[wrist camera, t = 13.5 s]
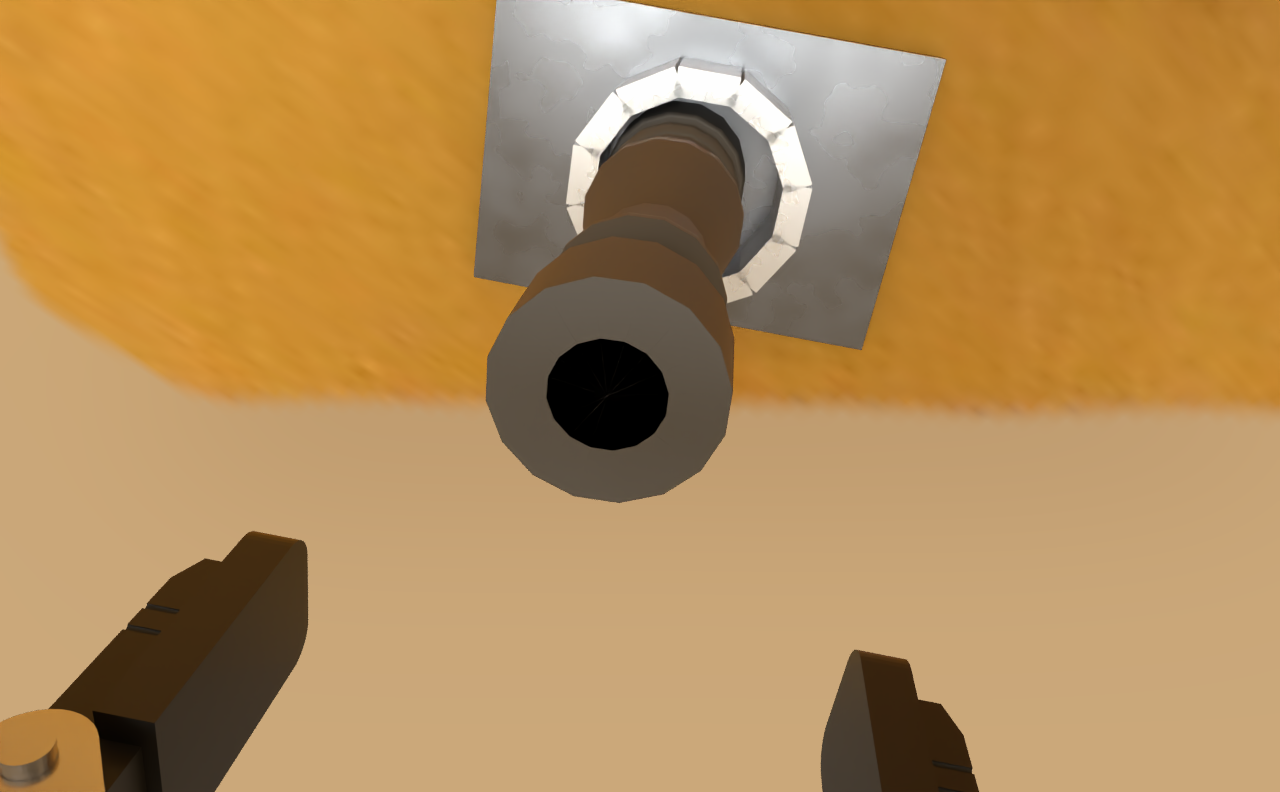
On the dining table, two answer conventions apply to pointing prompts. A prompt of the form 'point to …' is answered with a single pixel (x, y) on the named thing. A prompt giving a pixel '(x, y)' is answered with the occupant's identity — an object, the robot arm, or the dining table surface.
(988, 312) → the dining table surface
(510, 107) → the steel collar
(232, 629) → the robot arm
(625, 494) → the candle holder
